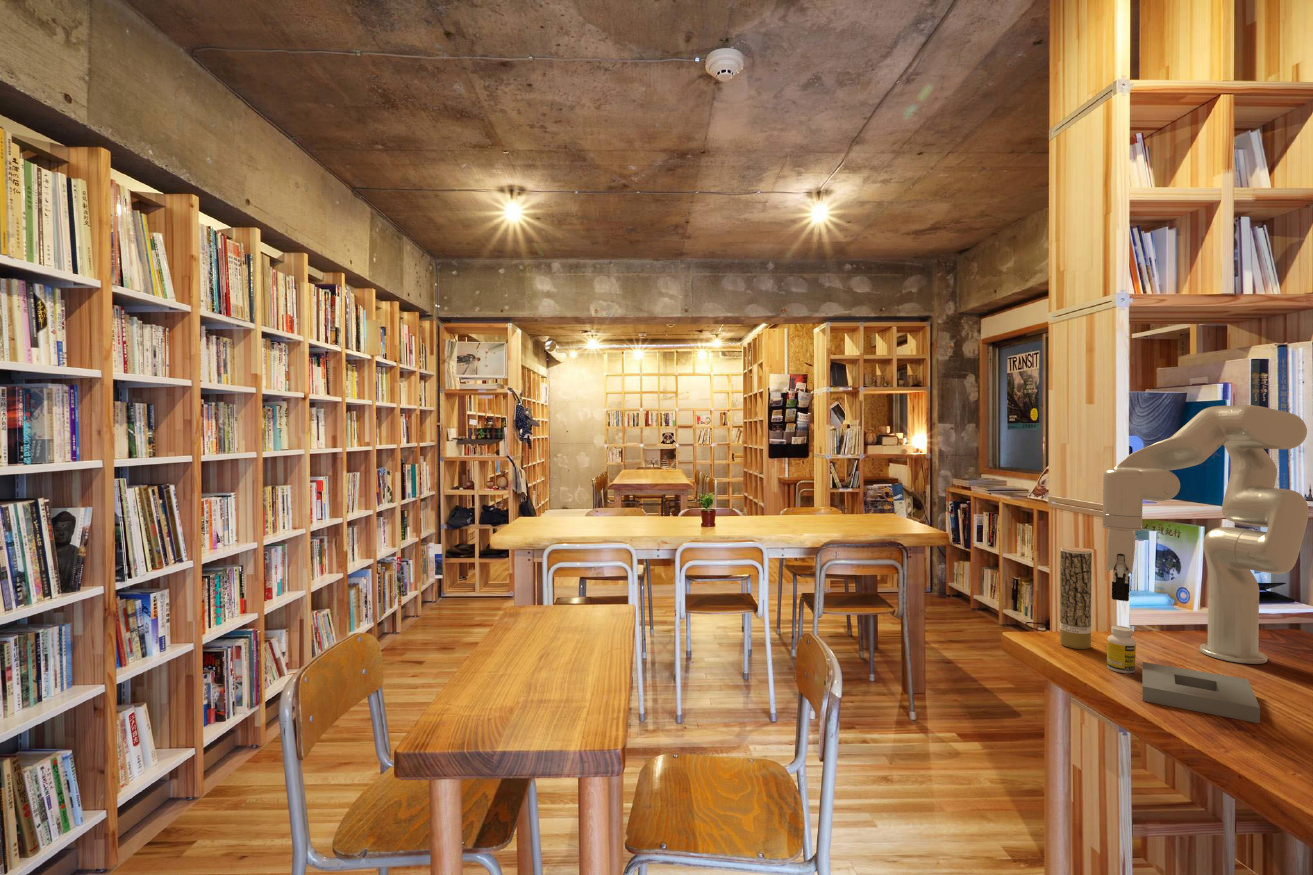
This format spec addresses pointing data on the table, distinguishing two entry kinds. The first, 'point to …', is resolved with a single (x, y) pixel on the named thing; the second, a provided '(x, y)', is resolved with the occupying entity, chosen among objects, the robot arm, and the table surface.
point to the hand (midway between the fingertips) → (1120, 596)
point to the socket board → (1200, 692)
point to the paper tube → (1075, 597)
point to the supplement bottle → (1121, 650)
